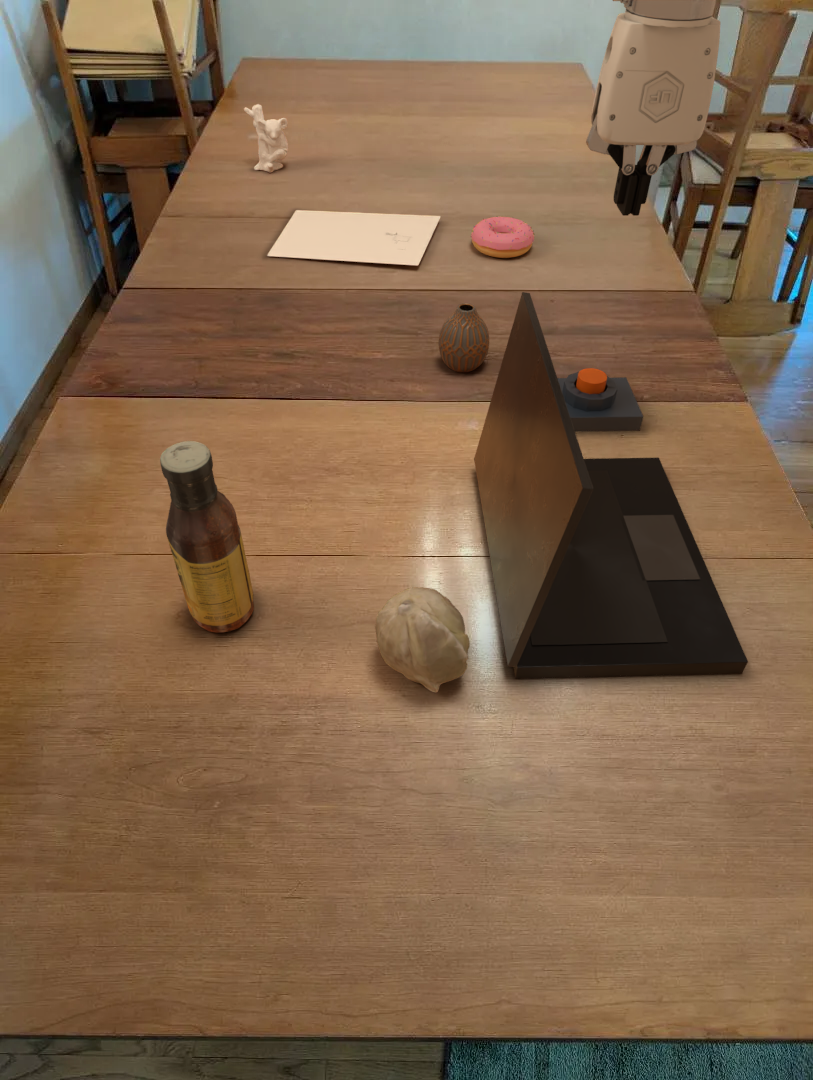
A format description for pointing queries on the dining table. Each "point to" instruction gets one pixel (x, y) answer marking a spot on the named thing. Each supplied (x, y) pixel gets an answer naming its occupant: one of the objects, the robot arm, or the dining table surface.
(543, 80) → the dining table surface
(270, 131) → the koala figurine
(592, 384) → the button
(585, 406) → the switch box
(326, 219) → the paper sheet
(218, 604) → the sauce bottle
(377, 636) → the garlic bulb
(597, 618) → the laptop
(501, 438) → the laptop screen
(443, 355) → the vase
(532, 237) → the doughnut
